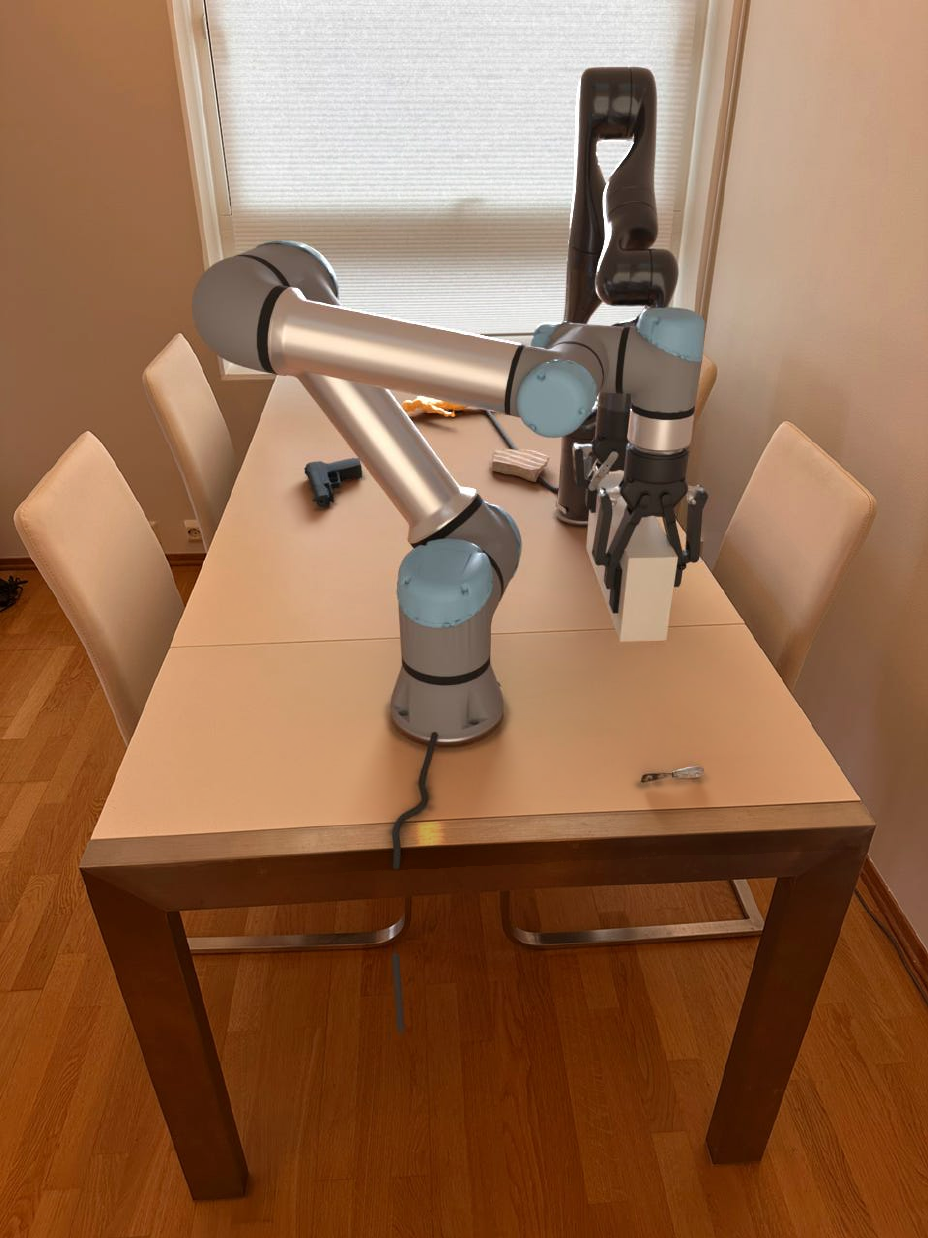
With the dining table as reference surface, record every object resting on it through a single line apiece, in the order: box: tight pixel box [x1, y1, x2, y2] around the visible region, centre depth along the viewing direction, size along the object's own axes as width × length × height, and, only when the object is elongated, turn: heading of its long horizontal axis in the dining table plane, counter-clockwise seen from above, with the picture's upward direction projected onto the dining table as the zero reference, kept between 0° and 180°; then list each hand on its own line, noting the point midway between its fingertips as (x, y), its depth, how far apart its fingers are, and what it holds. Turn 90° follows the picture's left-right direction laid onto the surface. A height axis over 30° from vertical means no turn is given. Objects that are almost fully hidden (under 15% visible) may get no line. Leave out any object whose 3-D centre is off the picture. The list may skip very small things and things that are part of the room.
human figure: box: [401, 396, 469, 418], centre depth 225 cm, size 20×20×4 cm
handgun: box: [303, 457, 363, 509], centre depth 184 cm, size 3×18×12 cm
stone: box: [489, 448, 550, 483], centre depth 192 cm, size 13×12×2 cm
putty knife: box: [640, 765, 705, 784], centre depth 109 cm, size 1×8×2 cm, turn 103°
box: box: [585, 473, 678, 643], centre depth 126 cm, size 27×6×12 cm, turn 3°
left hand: (639, 607), depth 120 cm, fingers closed on box, 6 cm apart
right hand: (614, 509), depth 134 cm, fingers closed on box, 6 cm apart
